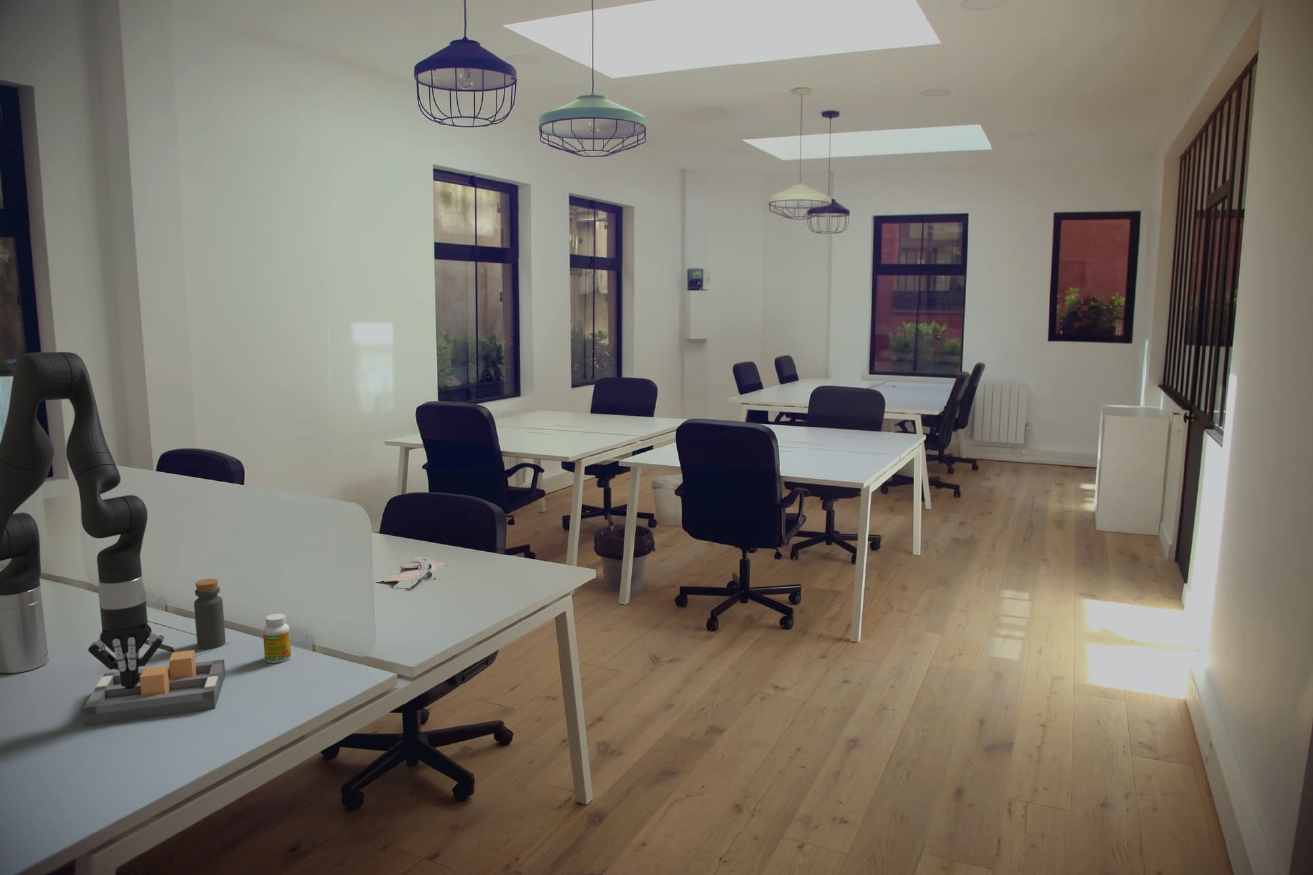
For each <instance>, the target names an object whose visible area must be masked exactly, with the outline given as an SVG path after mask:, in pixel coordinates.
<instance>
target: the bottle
mask: <svg viewBox="0 0 1313 875" xmlns="http://www.w3.org/2000/svg"><path fill="white" fill-rule="evenodd" d="M218 585H219V579H218V578H205V579H200V580H197V581H195V587H196V589H195V590H194V594H195V596H196V597H197V599H195V600H194V602H193V606H194V610H193V611H194V621H195V622H194V623H195V632H196V634H195V635H196V645H197V648H199V649H201V650H202V649H203V650H208V649H215V648H219V647H222V646H223V645H225V644H226V629H225V627H226V626H225V616H224V602H223V598H222V597H221V596H220V595H218V594H219V593H221V588H220V586H218Z"/></svg>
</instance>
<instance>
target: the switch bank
mask: <svg viewBox="0 0 1313 875" xmlns="http://www.w3.org/2000/svg"><path fill="white" fill-rule="evenodd" d="M167 666H168V677H169V689H170V690H169V692H168V693H164V694H156V695H149V696H142V695H141V684H140V676H141V674H142V672H143V670H144V668H140V669H139V668H138V671H139V682H138V684H137V685H136V686H135V688H132V689H125V686H124V687H122V685H121V679H120V672H119V671H115V672H114V671H113V672H105V673H104V674H103V675H102V676H101V679H100V680H99V682H98V683H97V684H96V686H95V688H94V689H93V691H92V693H91V694H90V695H89V697H88V698H87V701H86V703H85V704H84V706H83V707H82V711H83V722H84V726H91V725H100V724H107V723H108V724H109V723H114V722H121V721H123V722H124V721H130V720H137V719H145V718H152V717H159V716H165V715H166V716H167V715H174V714H181V713H182V714H183V713H190V712H197V711H205V710H213V709H216V707H217V704H218V700H219V697H220V693H221V690H222V687H223V684H224V680H225V678H226V667H225V659H216V660H208V661H207V660H206V661H199V662H198V661H197V662H196V675H195V676H192V677H184V678H176V679H170V668H169V665H167Z"/></svg>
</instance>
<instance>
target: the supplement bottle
mask: <svg viewBox="0 0 1313 875" xmlns="http://www.w3.org/2000/svg"><path fill="white" fill-rule="evenodd" d="M286 621H287V620H286V615H285V614H283V613H274V614H269V615H267V616H266V617H265V625H266V626H265V627H264V628H263V630H262V634H263V635H262V636H263V637H262V638H263V649H264V650H263V653H264V660H265V662H266V663H269V664H279V663H284V662H286V661H288V660H290V659H291V657H292V649H291V647H292V646H291V634H290V633H291V631H290V630H291V628H290V625H289V624H287V623H286Z"/></svg>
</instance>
